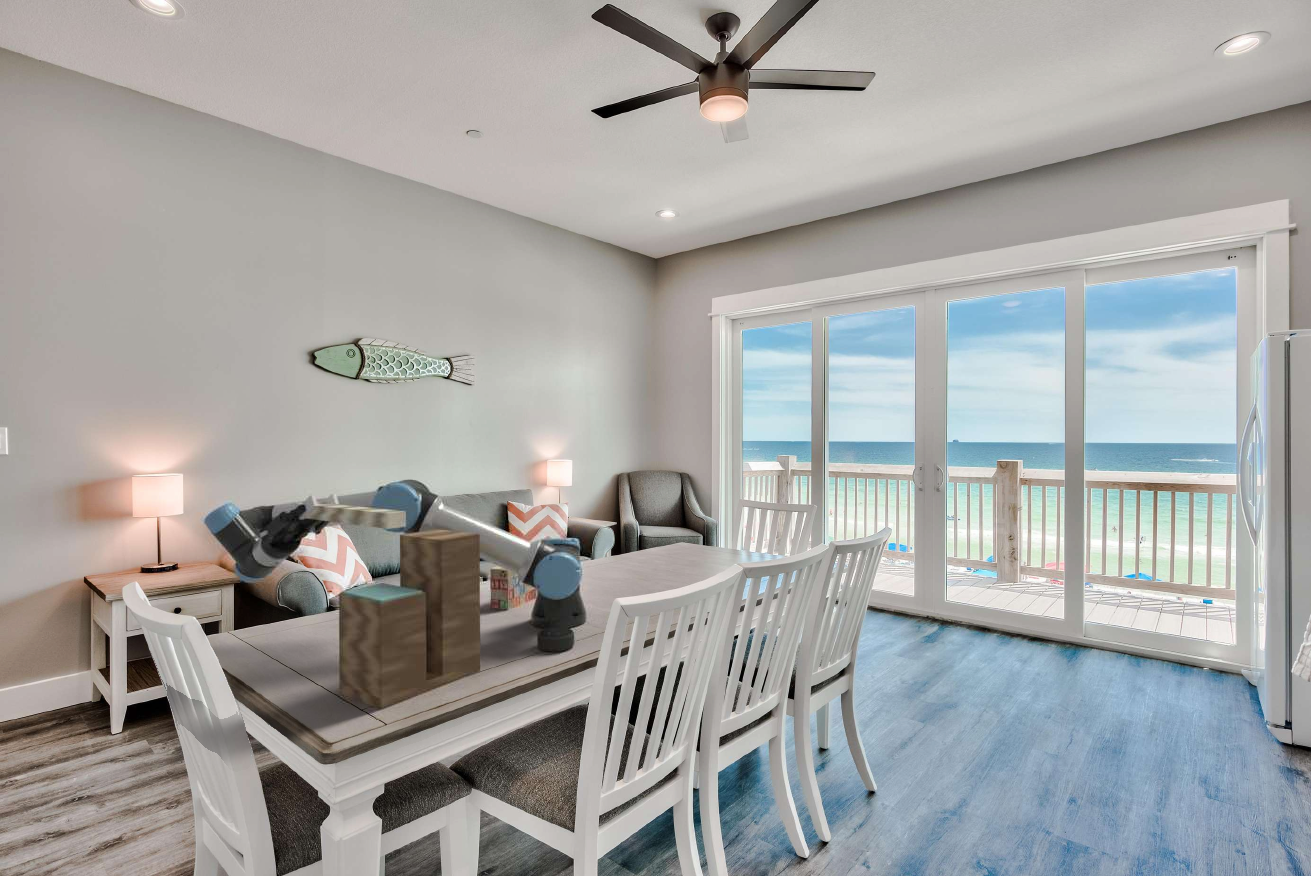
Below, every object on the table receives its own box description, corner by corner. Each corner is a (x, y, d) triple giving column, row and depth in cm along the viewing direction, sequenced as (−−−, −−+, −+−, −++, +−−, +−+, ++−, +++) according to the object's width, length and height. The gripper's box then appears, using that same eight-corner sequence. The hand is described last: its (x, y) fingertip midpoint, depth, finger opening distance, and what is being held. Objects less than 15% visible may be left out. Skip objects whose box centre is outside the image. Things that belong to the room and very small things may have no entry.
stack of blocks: (529, 592, 215) (529, 555, 215) (545, 594, 213) (545, 556, 213) (490, 608, 195) (490, 567, 195) (508, 610, 193) (507, 569, 193)
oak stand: (339, 693, 131) (338, 543, 131) (438, 658, 151) (437, 529, 151) (381, 709, 124) (380, 550, 124) (480, 670, 144) (479, 534, 144)
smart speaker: (532, 645, 161) (532, 629, 161) (566, 639, 166) (566, 623, 166) (545, 656, 154) (544, 638, 154) (580, 649, 158) (580, 633, 158)
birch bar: (294, 516, 146) (294, 503, 146) (312, 514, 149) (312, 501, 149) (387, 528, 127) (387, 513, 127) (405, 526, 130) (405, 511, 130)
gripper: (317, 553, 160) (366, 510, 149) (242, 565, 146) (290, 519, 135) (309, 525, 162) (356, 481, 151) (233, 534, 148) (280, 486, 137)
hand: (325, 499), depth 143 cm, fingers closed on birch bar, 4 cm apart
